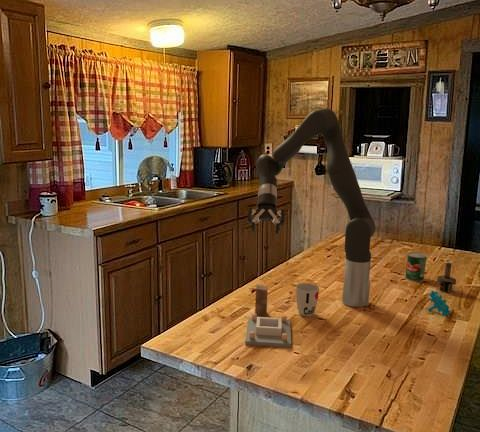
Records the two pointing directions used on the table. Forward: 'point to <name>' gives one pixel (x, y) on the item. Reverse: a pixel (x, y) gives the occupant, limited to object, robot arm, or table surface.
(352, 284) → the robot arm
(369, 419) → the table surface
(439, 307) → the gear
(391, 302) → the table surface
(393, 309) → the table surface
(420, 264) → the canned tomato
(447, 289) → the industrial component
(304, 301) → the cup
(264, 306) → the brown block
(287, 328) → the housing plate
